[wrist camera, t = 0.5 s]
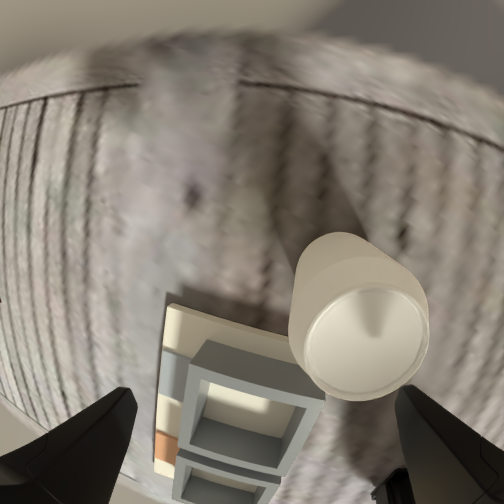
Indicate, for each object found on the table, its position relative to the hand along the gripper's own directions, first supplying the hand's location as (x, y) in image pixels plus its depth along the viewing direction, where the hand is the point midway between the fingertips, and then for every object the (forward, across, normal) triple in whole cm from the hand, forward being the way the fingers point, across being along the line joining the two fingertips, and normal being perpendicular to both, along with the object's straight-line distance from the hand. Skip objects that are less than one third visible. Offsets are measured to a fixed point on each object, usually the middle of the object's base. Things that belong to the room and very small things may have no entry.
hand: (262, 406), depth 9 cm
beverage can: (+14, -5, +1) cm, 15 cm away
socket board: (+12, +5, +17) cm, 22 cm away
